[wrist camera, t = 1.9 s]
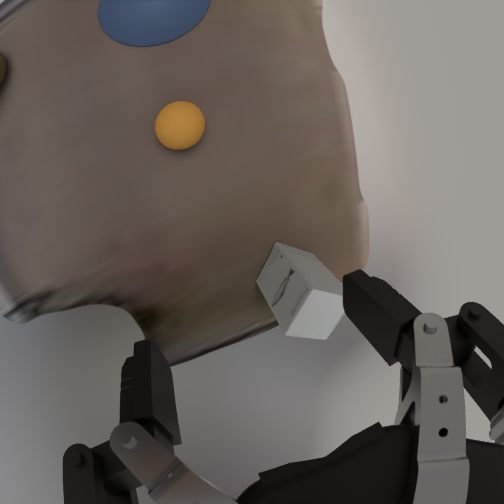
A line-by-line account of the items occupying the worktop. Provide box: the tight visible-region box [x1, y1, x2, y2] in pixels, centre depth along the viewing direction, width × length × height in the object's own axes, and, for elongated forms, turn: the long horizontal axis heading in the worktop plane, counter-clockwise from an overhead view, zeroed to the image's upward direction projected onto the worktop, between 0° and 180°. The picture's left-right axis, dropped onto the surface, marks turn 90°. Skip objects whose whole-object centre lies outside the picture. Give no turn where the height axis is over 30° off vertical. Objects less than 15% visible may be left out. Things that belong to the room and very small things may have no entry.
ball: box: [155, 101, 205, 150], centre depth 28 cm, size 6×6×6 cm
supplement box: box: [256, 242, 345, 340], centre depth 38 cm, size 7×7×13 cm
